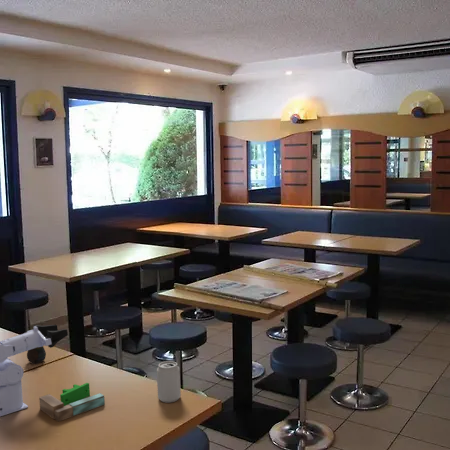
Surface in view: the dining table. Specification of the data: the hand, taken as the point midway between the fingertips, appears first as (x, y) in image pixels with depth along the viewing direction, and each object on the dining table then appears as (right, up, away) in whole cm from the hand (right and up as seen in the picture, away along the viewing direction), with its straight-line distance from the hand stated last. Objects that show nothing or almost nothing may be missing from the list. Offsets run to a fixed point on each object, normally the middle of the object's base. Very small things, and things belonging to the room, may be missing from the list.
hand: (61, 329), depth 188 cm
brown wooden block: (+1, -23, -14) cm, 27 cm away
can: (+38, -22, -7) cm, 44 cm away
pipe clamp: (+6, -23, -6) cm, 24 cm away
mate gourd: (-19, -19, +32) cm, 42 cm away
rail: (+10, -23, -15) cm, 29 cm away
